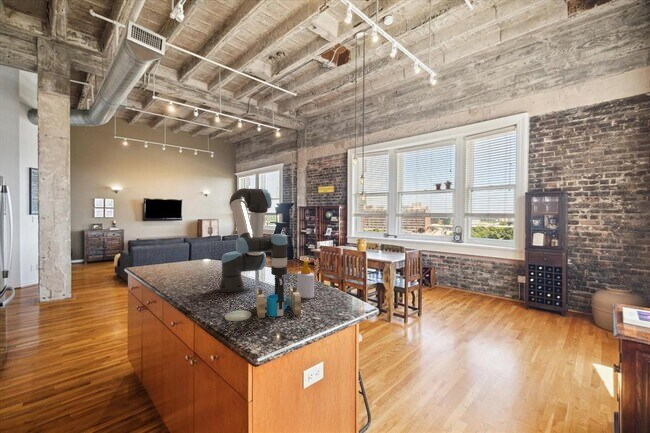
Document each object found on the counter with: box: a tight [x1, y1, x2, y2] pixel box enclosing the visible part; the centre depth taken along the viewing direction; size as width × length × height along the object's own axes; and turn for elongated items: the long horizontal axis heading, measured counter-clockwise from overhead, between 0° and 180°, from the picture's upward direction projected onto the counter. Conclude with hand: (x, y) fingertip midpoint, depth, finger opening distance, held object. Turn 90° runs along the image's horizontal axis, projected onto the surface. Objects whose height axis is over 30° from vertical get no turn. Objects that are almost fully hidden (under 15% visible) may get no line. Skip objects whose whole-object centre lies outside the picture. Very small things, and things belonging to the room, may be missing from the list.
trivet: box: [224, 310, 252, 322], centre depth 137 cm, size 12×12×1 cm
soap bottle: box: [296, 260, 315, 299], centre depth 172 cm, size 13×8×20 cm, turn 34°
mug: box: [266, 293, 289, 317], centre depth 143 cm, size 12×8×8 cm
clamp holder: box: [255, 286, 302, 319], centre depth 146 cm, size 16×20×11 cm
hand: (278, 312), depth 143 cm, fingers open, 8 cm apart
